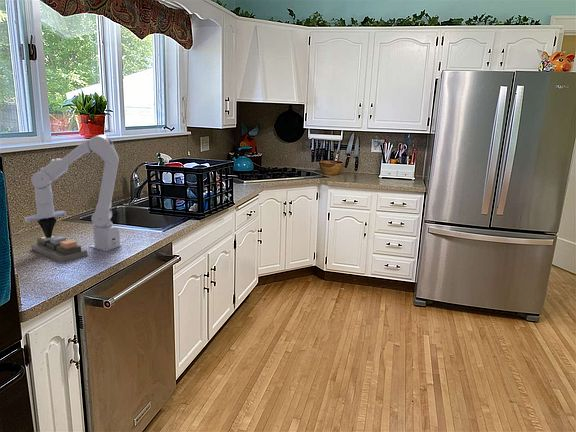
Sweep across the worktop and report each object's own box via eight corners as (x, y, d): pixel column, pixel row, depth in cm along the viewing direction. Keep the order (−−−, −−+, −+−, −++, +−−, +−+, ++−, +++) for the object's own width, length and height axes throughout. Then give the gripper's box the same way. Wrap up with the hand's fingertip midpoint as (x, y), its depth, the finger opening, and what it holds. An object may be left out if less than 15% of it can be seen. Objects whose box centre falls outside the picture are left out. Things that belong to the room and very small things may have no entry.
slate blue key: (66, 242, 159) (65, 237, 159) (55, 245, 156) (55, 239, 156) (61, 240, 161) (60, 235, 161) (50, 242, 158) (49, 237, 158)
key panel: (87, 255, 157) (86, 245, 156) (60, 262, 150) (59, 251, 149) (58, 243, 170) (57, 233, 169) (31, 249, 162) (30, 239, 161)
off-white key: (56, 242, 164) (56, 237, 163) (46, 244, 161) (45, 239, 160) (51, 240, 166) (51, 235, 165) (41, 242, 163) (40, 237, 162)
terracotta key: (76, 246, 155) (76, 241, 154) (65, 249, 152) (65, 244, 151) (71, 244, 157) (70, 239, 157) (60, 247, 154) (59, 241, 154)
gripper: (58, 198, 167) (62, 231, 171) (19, 204, 156) (23, 239, 159) (67, 201, 164) (71, 234, 167) (27, 207, 152) (32, 242, 155)
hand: (48, 237), depth 163 cm, fingers closed
